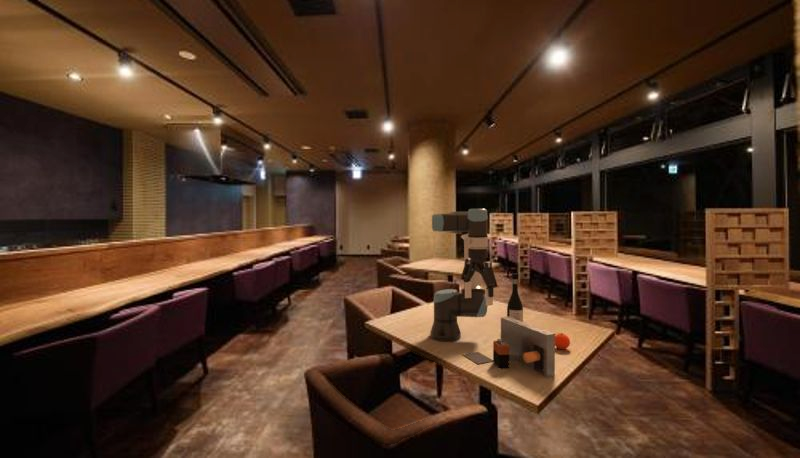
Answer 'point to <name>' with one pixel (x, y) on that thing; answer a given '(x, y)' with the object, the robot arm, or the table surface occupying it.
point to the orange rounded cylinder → (531, 356)
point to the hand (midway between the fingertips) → (478, 301)
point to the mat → (478, 358)
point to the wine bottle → (515, 301)
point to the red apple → (562, 341)
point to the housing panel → (529, 344)
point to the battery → (501, 354)
